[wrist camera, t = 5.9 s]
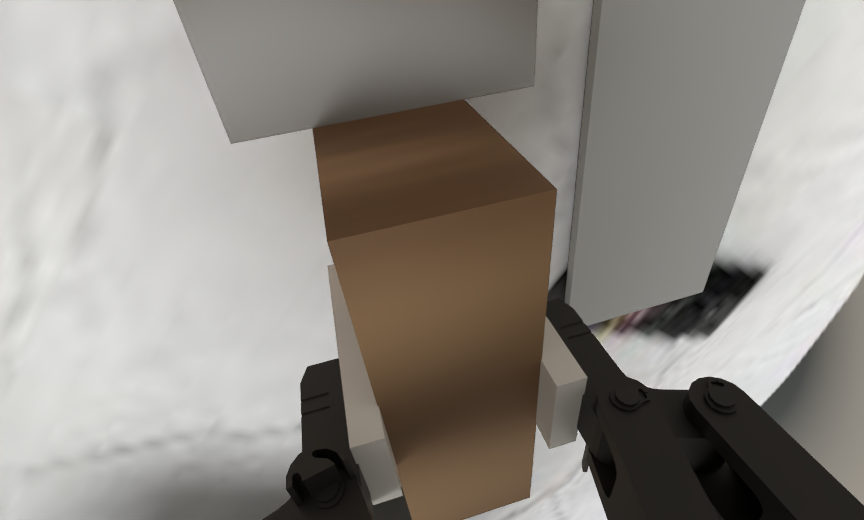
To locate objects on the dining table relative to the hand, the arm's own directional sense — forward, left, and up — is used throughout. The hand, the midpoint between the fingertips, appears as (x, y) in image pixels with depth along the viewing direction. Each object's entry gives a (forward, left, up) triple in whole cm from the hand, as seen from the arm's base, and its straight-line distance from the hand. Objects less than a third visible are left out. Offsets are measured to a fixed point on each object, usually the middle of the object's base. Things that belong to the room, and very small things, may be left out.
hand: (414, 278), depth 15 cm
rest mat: (0, -15, -6) cm, 16 cm away
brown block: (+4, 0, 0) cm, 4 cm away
